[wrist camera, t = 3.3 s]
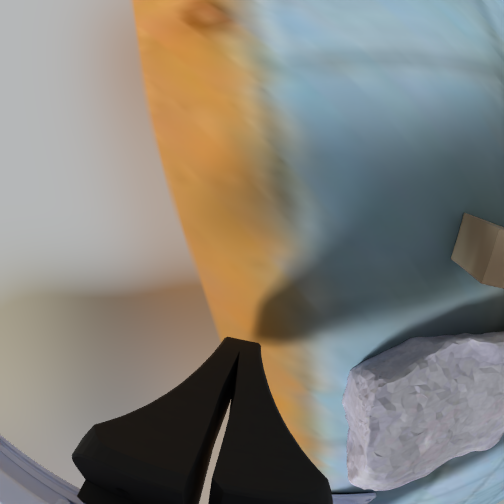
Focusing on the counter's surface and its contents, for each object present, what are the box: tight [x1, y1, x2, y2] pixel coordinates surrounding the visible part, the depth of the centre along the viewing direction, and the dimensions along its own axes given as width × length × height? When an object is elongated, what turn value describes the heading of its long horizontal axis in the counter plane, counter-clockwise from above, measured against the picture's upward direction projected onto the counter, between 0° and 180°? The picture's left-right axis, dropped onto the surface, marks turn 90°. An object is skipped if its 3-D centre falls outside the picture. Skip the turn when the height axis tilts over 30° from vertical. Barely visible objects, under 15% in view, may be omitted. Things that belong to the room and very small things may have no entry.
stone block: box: [342, 332, 504, 491], centre depth 11 cm, size 12×5×10 cm
